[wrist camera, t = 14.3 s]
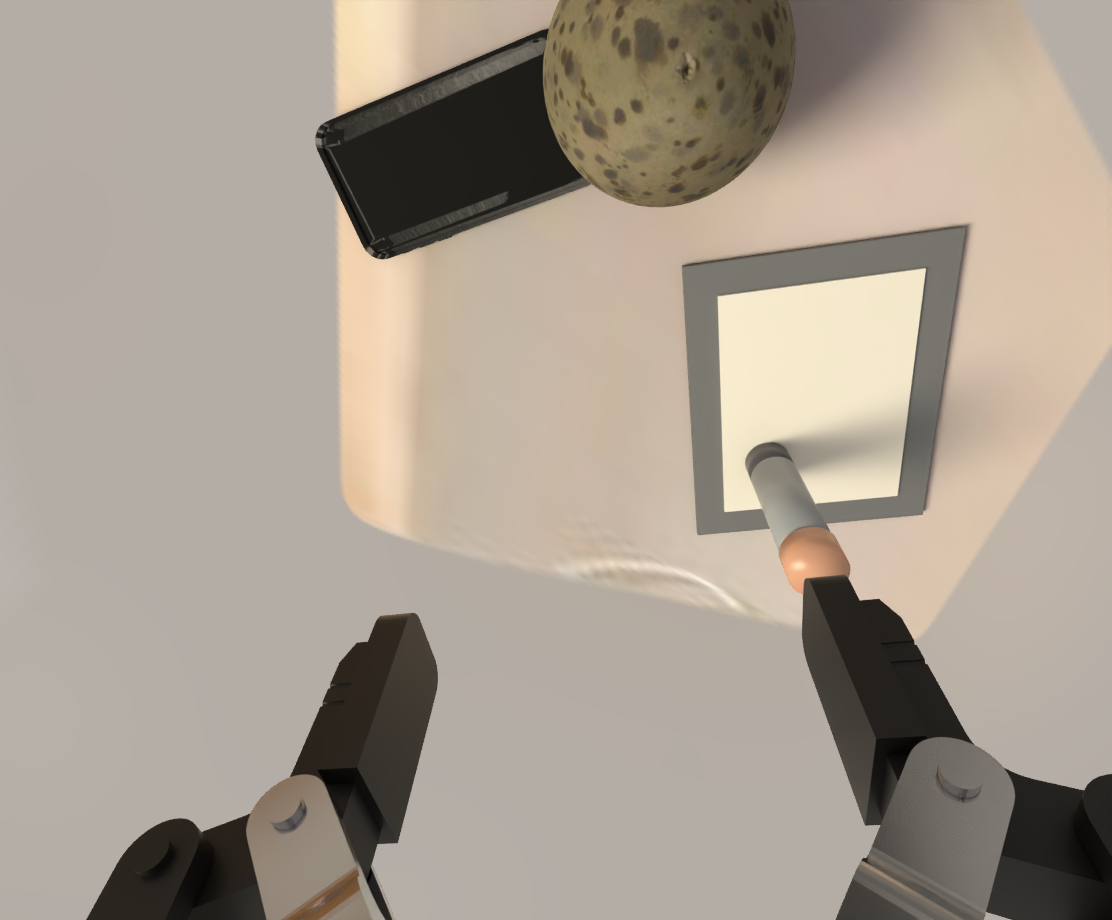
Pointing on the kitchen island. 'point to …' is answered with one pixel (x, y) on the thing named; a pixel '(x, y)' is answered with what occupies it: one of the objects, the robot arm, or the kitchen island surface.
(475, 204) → the phone
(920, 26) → the kitchen island surface
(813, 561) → the marker
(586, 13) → the decorative egg
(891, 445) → the writing mat
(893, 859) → the robot arm
